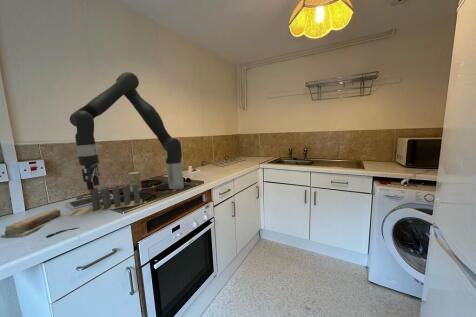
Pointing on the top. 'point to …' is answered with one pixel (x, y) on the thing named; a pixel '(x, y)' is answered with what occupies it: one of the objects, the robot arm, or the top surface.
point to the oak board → (102, 208)
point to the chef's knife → (59, 232)
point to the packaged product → (32, 224)
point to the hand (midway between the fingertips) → (93, 187)
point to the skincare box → (134, 180)
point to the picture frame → (83, 202)
